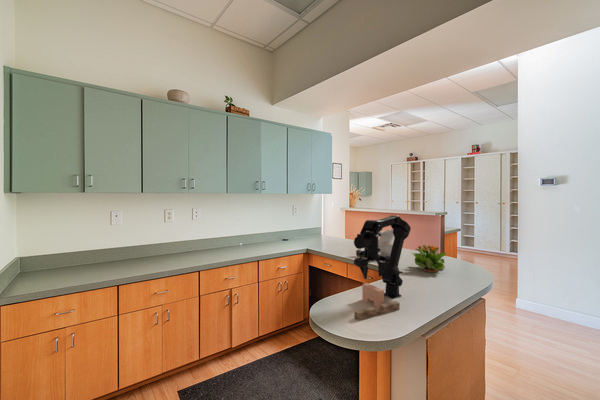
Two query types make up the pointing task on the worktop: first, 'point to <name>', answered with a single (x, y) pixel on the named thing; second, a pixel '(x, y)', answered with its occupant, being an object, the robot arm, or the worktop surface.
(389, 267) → the robot arm
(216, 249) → the worktop surface
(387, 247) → the ceramic pitcher
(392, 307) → the brown rail
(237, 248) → the worktop surface
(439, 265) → the potted flower
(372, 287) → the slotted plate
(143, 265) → the worktop surface
